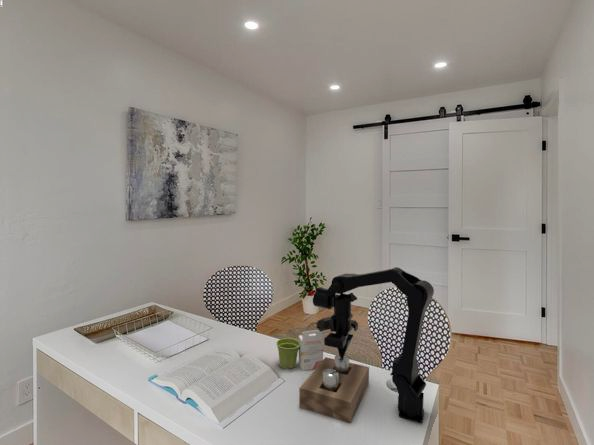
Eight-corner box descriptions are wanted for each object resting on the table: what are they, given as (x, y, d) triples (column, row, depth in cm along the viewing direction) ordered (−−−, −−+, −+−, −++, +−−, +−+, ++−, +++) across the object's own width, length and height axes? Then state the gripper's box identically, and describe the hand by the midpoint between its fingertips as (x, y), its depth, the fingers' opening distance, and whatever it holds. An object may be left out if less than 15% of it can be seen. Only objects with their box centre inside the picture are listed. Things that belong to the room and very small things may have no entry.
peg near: (340, 389, 98) (340, 371, 98) (335, 397, 94) (335, 378, 94) (326, 385, 101) (326, 367, 100) (320, 393, 96) (320, 374, 96)
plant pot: (300, 360, 126) (301, 338, 125) (298, 372, 116) (299, 349, 116) (277, 358, 127) (278, 337, 126) (273, 370, 117) (274, 347, 117)
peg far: (350, 372, 108) (350, 356, 108) (346, 379, 104) (346, 362, 104) (337, 369, 110) (337, 353, 110) (332, 375, 106) (332, 359, 106)
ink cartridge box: (318, 361, 124) (319, 325, 124) (323, 368, 120) (323, 329, 119) (298, 364, 122) (298, 327, 121) (301, 371, 117) (301, 332, 117)
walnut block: (368, 384, 109) (369, 367, 109) (350, 423, 89) (350, 402, 89) (325, 373, 116) (325, 357, 116) (299, 407, 96) (299, 388, 96)
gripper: (329, 301, 118) (329, 342, 119) (309, 316, 101) (308, 364, 102) (358, 305, 113) (358, 348, 114) (342, 322, 96) (342, 372, 97)
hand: (341, 357), depth 107 cm, fingers closed
